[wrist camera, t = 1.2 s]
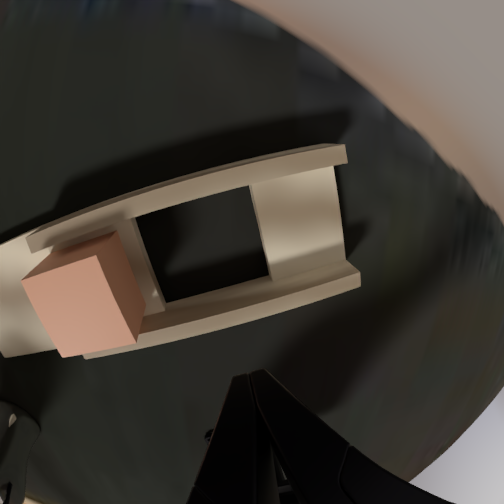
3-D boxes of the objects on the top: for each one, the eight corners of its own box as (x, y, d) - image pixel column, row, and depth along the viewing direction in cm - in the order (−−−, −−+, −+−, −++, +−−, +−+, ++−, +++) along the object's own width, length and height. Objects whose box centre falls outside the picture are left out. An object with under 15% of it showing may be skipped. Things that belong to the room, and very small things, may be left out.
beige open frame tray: (340, 267, 20) (360, 286, 18) (9, 351, 18) (-5, 372, 16) (322, 143, 17) (344, 144, 15) (-36, 262, 15) (-57, 277, 12)
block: (146, 304, 18) (136, 343, 14) (81, 320, 18) (62, 357, 14) (117, 230, 16) (96, 255, 12) (50, 253, 16) (20, 280, 12)
